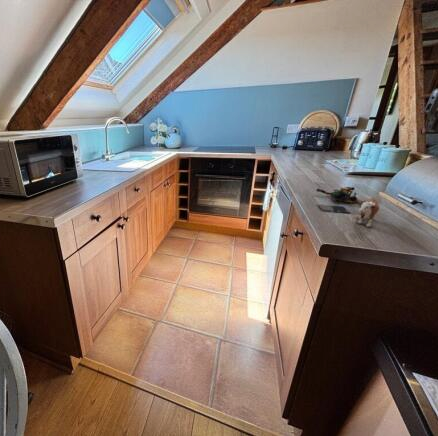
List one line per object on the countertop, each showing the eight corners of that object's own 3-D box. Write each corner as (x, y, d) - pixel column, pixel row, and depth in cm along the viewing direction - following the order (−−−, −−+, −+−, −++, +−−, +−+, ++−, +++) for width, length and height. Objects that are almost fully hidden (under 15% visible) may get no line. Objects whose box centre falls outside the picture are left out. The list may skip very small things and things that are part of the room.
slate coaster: (342, 207, 92) (342, 206, 92) (349, 213, 87) (349, 212, 87) (318, 205, 95) (318, 204, 95) (323, 210, 89) (323, 209, 89)
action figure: (348, 194, 108) (377, 205, 94) (314, 194, 108) (338, 205, 94) (352, 182, 105) (382, 191, 91) (317, 182, 106) (342, 191, 92)
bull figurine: (350, 226, 77) (358, 202, 73) (359, 215, 85) (367, 193, 82) (368, 231, 74) (377, 205, 70) (376, 219, 82) (385, 195, 78)
